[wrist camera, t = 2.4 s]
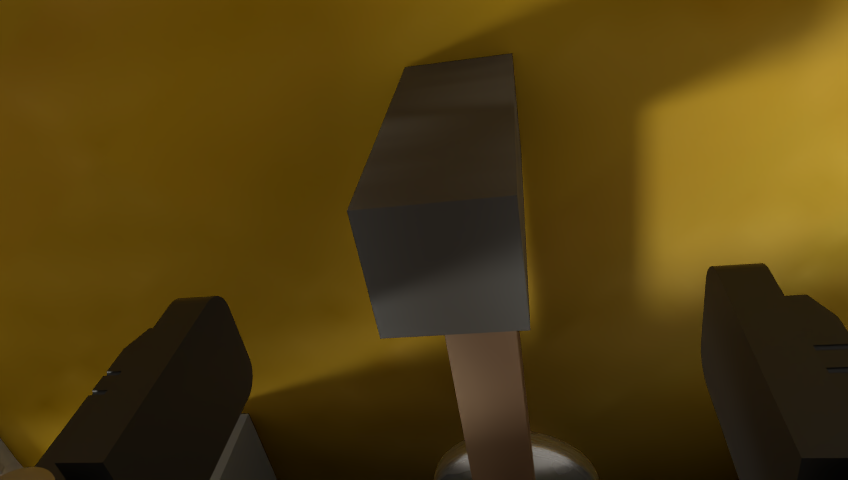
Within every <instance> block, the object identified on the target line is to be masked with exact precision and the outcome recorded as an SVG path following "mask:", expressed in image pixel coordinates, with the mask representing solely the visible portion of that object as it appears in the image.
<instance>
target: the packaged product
mask: <svg viewBox="0 0 848 480" xmlns="http://www.w3.org/2000/svg"><path fill="white" fill-rule="evenodd" d="M21 468H23V467H22V465H21V464H20V463H19V462H18V461H17V460H16V459H15V457H14V456H13V454H12V453H11V452H10V450H9V449H8V448H7V446H6V445H5V444H4V442H3V441H2V440H1V438H0V476H1V475H3V474H6V473H8V472H11V471H14V470H17V469H21Z"/></svg>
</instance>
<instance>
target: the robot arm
mask: <svg viewBox="0 0 848 480" xmlns="http://www.w3.org/2000/svg"><path fill="white" fill-rule="evenodd" d="M701 358H702V367H703V373H704V377H705V381H706V385H707V388H708V391H709V393H710V396H711V399H712V402H713V405H714V408H715V411H716V414H717V417H718V420H719V422H720V425H721V428H722V431H723V434H724V437H725V440H726V443H727V446H728V449H729V451H730V454H731V457H732V460H733V463H734V466H735V469H736V472H737V475H738V478H739V480H848V331H847V330H846V328H845V327H844V325H843V324H842V322H841V321H840V319H839V318H838V317H837V316H836V315H835V314H833V313H832V312H830V311H829V310H828V309H826V308H825V307H823V306H822V305H821V304H819V303H818V302H816V301H815V300H814V299H812V298H811V297H809V296H808V295H793V296H784V294H783V293H782V291H781V289H780V287H779V286H778V284H777V282H776V281H775V279H774V277H773V275H772V274H771V272H770V270H769V269H768V267H767V266H766V265H765V264H763V263H759V264H743V265H727V266H711V267H709V269H708V271H707V276H706V286H705V299H704V312H703V324H702V337H701ZM252 377H253V375H252V366H251V362H250V359H249V356H248V354H247V351H246V349H245V346H244V344H243V341H242V339H241V336H240V334H239V331H238V329H237V326H236V324H235V321H234V319H233V316H232V314H231V311H230V309H229V307H228V304H227V303H226V301H225V300H224V299H223V298H222V297H220V296H210V297H194V298H178V299H176V300H174V301H173V302H172V303H171V304H170V306H169V307H168V308H167V310H166V311H165V312H164V314H163V315H162V317H161V318H160V319H159V321H158V322H157V323H156V325H155V326H154V327H153V328H149V329H148V330H147V331H146V332H144V333H143V334H142V335H141V336H139V337H138V338H137V339H136V340H134V341H133V342H132V343H131V344H129V345H128V346H127V347H126V348H124V349H123V351H122V352H121V353H120V355H119V356H118V357H117V359H116V360H115V361H114V363H113V364H112V365H111V367H110V368H109V369H108V371H107V376H103V377H102V378H101V380H100V381H99V382H98V384H97V385H96V386H95V388H94V389H93V390H92V391H93V394H92V395H89V396H88V397H87V398H86V400H85V401H84V402H83V404H82V405H81V406H80V407H79V409H78V410H77V411H76V413H75V414H74V415H73V417H72V418H71V419H70V421H69V422H68V423H67V425H66V426H65V427H64V429H63V430H62V431H61V433H60V434H59V435H58V436H57V438H56V439H55V440H54V442H53V443H52V444H51V446H50V447H49V448H48V450H47V451H46V452H45V454H44V455H43V456H42V458H41V459H40V460H39V462H38V463H37V464H36V466H35V467H26V468H21V469H17V470H14V471H11V472H8V473H6V474H3V475H1V476H0V480H210V478H211V476H212V474H213V472H214V470H215V467H216V465H217V463H218V461H219V459H220V457H221V455H222V453H223V450H224V448H225V446H226V444H227V442H228V440H229V438H230V436H231V434H232V431H233V429H234V427H235V425H236V423H237V421H238V419H239V417H240V414H241V412H242V410H243V408H244V406H245V404H246V402H247V400H248V397H249V395H250V392H251V387H252Z"/></svg>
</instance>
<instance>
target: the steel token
mask: <svg viewBox="0 0 848 480" xmlns="http://www.w3.org/2000/svg"><path fill="white" fill-rule="evenodd" d="M530 434H531V443H532V452H533V461H534V470H535V479H536V480H599V477H598V474H597V471H596V469H595V468H594V466H593V464H592V463H591V462H590V460H589V459H588V458H587V457H586V456H585V455H584V454H583V453H582V452H581V451H579V450H578V449H576V448H575V447H573V446H572V445H570V444H568V443H566V442H564V441H562V440H560V439H557V438H555V437H552V436H549V435H545V434H542V433H536V432H531V431H530ZM434 480H472V476H471V471H470V465H469V460H468V455H467V450H466V444H465V440H463V441H462V442H460V443H458V444H456V445H455V446H453V447H452V448H451V449H449V450H448V451H447V452H446V453H445V454H444V455H443V457H442V458H441V459H440V461H439V463H438V465H437V467H436V470H435V475H434Z"/></svg>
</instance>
